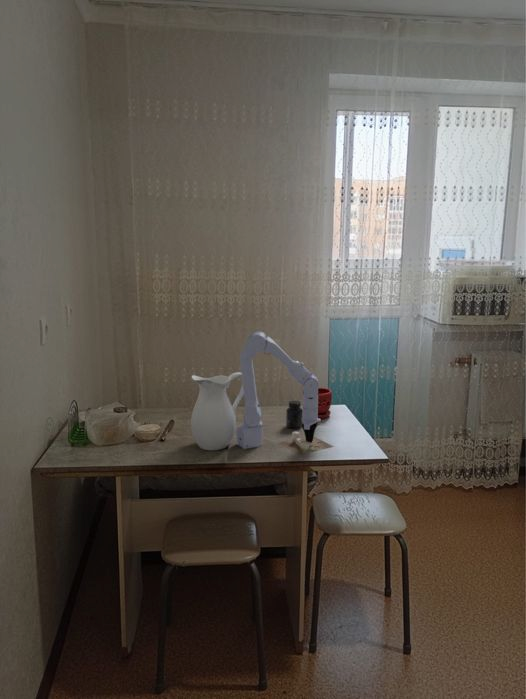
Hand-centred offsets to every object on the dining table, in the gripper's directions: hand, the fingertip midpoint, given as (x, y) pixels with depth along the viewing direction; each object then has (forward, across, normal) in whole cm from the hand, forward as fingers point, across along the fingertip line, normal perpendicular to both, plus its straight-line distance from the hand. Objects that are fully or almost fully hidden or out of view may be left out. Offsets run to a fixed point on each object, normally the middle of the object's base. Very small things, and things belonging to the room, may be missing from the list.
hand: (309, 441), depth 200 cm
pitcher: (+3, -4, +34) cm, 34 cm away
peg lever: (+1, -2, +3) cm, 4 cm away
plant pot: (+3, +42, +4) cm, 43 cm away
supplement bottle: (+3, +20, +10) cm, 23 cm away
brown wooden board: (+3, +1, +1) cm, 3 cm away
